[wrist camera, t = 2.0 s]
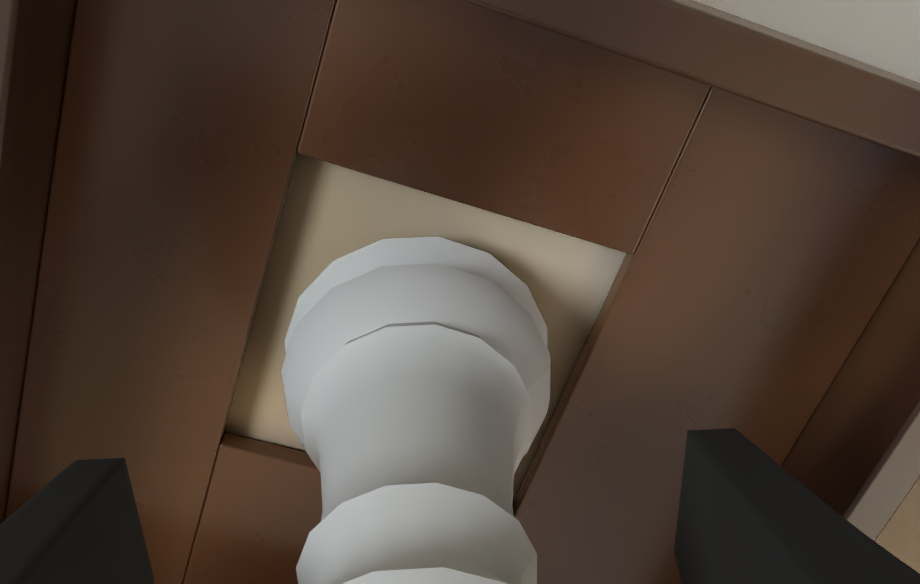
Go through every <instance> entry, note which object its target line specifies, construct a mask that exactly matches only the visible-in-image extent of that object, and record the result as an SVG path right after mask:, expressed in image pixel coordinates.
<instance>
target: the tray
mask: <svg viewBox="0 0 920 584" xmlns="http://www.w3.org/2000/svg"><path fill="white" fill-rule="evenodd" d="M297 152H298V153H299V154H302V155H306V156H309V157H312V158H316V159H319V160H322V161H325V162H329V163H332V164H335V165H339V166H342V167H345V168H349V169H352V170H355V171H358V172H362V173H365V174H368V175H372V176H375V177H378V178H382V179H385V180H388V181H392V182H395V183H398V184H401V185H405V186H408V187H411V188H415V189H418V190H421V191H425V192H428V193H431V194H434V195H438V196H441V197H444V198H448V199H451V200H454V201H458V202H461V203H464V204H468V205H471V206H474V207H477V208H481V209H484V210H487V211H491V212H494V213H497V214H501V215H504V216H507V217H511V218H514V219H517V220H520V221H524V222H527V223H530V224H534V225H537V226H540V227H544V228H547V229H550V230H553V231H557V232H560V233H563V234H567V235H570V236H573V237H577V238H580V239H583V240H587V241H590V242H593V243H596V244H600V245H603V246H606V247H610V248H613V249H616V250H620V251H623V252H626V253H627V254H626V256H625V258H624V260H623V263H622V265H621V267H620V269H619V271H618V274H617V276H616V278H615V280H614V282H613V285H612V287H611V289H610V291H609V293H608V296H607V298H606V300H605V302H604V304H603V307H602V309H601V311H600V313H599V315H598V318H597V320H596V322H595V324H594V326H593V329H592V331H591V333H590V335H589V337H588V339H587V342H586V344H585V346H584V348H583V350H582V353H581V355H580V357H579V359H578V361H577V364H576V366H575V368H574V370H573V372H572V375H571V377H570V379H569V381H568V383H567V386H566V388H565V390H564V392H563V394H562V397H561V399H560V401H559V403H558V405H557V408H556V410H555V412H554V414H553V416H552V418H551V421H550V423H549V425H548V427H547V429H546V432H545V434H544V436H543V438H542V440H541V443H540V445H539V447H538V449H537V451H536V454H535V456H534V458H533V460H532V462H531V465H530V467H529V469H528V471H527V473H526V476H525V478H524V480H523V482H522V484H521V487H520V489H519V491H518V493H517V495H516V497H515V500H514V502H513V505H512V509H513V516H514V518H516V519H517V520H519V522H520V524H521V526H522V527H523V529H524V531H525V533H526V535H527V537H528V538H529V540H530V542H531V544H532V546H533V547H534V549H535V551H536V553H537V584H682V581H681V578H680V574H679V570H678V566H677V562H676V558H675V554H674V545H675V537H676V528H677V519H678V510H679V501H680V492H681V484H682V475H683V466H684V457H685V448H686V439H687V431H688V430H707V429H727V428H735V429H736V430H737V431H739V432H740V433H741V434H742V435H744V436H745V437H746V438H747V439H749V440H750V441H751V442H752V443H754V444H755V445H756V446H757V447H758V448H760V449H761V450H762V451H763V452H764V453H766V454H767V455H768V456H769V457H770V458H772V459H773V460H774V461H775V462H776V463H777V464H779V465H780V466H781V467H782V468H783V469H785V470H786V471H787V472H788V473H789V474H791V475H792V476H793V477H794V478H795V479H797V480H798V481H799V482H800V483H802V484H803V485H804V486H805V487H806V488H808V489H809V490H810V491H811V492H812V493H814V494H815V495H816V496H817V497H819V498H820V499H821V500H822V501H823V502H825V503H826V504H827V505H828V506H830V507H831V508H832V509H833V510H835V511H836V512H837V513H838V514H840V515H841V516H842V517H844V518H845V519H846V520H847V521H849V522H850V523H851V524H852V525H854V526H855V527H856V528H858V529H859V530H860V531H862V532H863V533H864V534H865V535H867V536H868V537H869V538H871V539H872V540H873V541H875V540H876V539H877V537H878V536H879V534H880V533H881V532H882V530H883V529H884V527H885V526H886V524H887V523H888V522H889V520H890V519H891V517H892V516H893V514H894V513H895V512H896V510H897V509H898V507H899V506H900V504H901V503H902V502H903V500H904V499H905V497H906V496H907V494H908V493H909V492H910V490H911V489H912V487H913V486H914V484H915V483H916V482H917V480H918V479H919V477H920V83H917V82H915V81H912V80H909V79H906V78H904V77H901V76H898V75H896V74H893V73H890V72H887V71H885V70H882V69H879V68H876V67H874V66H871V65H868V64H865V63H863V62H860V61H857V60H854V59H852V58H849V57H846V56H844V55H841V54H838V53H835V52H833V51H830V50H827V49H824V48H822V47H819V46H816V45H813V44H811V43H808V42H805V41H802V40H800V39H797V38H794V37H792V36H789V35H786V34H783V33H781V32H778V31H775V30H772V29H770V28H767V27H764V26H761V25H759V24H756V23H753V22H750V21H748V20H745V19H742V18H740V17H737V16H734V15H731V14H729V13H726V12H723V11H720V10H718V9H715V8H712V7H709V6H707V5H704V4H701V3H699V2H696V1H693V0H0V524H1V523H2V522H4V521H5V520H6V519H7V518H8V517H9V516H11V515H12V514H13V513H14V512H15V511H16V510H17V509H19V508H20V507H21V506H22V505H23V504H24V503H26V502H27V501H28V500H29V499H30V498H31V497H32V496H34V495H35V494H36V493H37V492H38V491H39V490H41V489H42V488H43V487H44V486H45V485H46V484H48V483H49V482H50V481H51V480H52V479H53V478H55V477H56V476H57V475H58V474H59V473H61V472H62V471H63V470H64V469H66V468H67V467H68V466H69V465H71V464H72V463H73V462H75V461H76V460H88V459H109V458H125V461H126V465H127V469H128V473H129V477H130V481H131V485H132V489H133V494H134V498H135V502H136V506H137V510H138V514H139V518H140V522H141V527H142V531H143V535H144V539H145V543H146V547H147V551H148V555H149V560H150V564H151V568H152V572H153V576H154V582H153V584H298V578H297V572H296V566H297V564H298V561H299V558H300V556H301V553H302V551H303V548H304V545H305V543H306V540H307V537H308V535H309V532H310V531H312V530H313V529H314V528H315V527H316V526H317V525H318V524H319V523H320V522H321V517H322V510H323V509H322V490H321V473H320V471H319V470H318V468H317V467H316V465H315V464H314V463H313V461H312V460H311V458H310V457H309V455H308V454H307V452H303V451H299V450H295V449H290V448H286V447H282V446H278V445H274V444H270V443H265V442H261V441H257V440H253V439H249V438H245V437H240V436H236V435H232V434H228V433H224V429H225V425H226V421H227V418H228V414H229V410H230V406H231V402H232V399H233V395H234V391H235V387H236V383H237V380H238V376H239V372H240V368H241V364H242V361H243V357H244V353H245V349H246V345H247V342H248V338H249V334H250V330H251V326H252V323H253V319H254V315H255V311H256V307H257V304H258V300H259V296H260V292H261V288H262V285H263V281H264V277H265V273H266V269H267V266H268V262H269V258H270V254H271V250H272V247H273V243H274V239H275V235H276V231H277V228H278V224H279V220H280V216H281V212H282V209H283V205H284V201H285V197H286V193H287V190H288V186H289V182H290V178H291V174H292V171H293V167H294V163H295V159H296V155H297ZM223 433H224V435H223Z"/></svg>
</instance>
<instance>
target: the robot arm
mask: <svg viewBox="0 0 920 584" xmlns="http://www.w3.org/2000/svg"><path fill="white" fill-rule="evenodd" d="M674 554H675V558H676V562H677V566H678V570H679V574H680V578H681V581H682V584H920V574H919V573H918V572H916V571H915V570H913V569H912V568H911V567H909V566H908V565H906V564H905V563H903V562H902V561H901V560H899V559H898V558H896V557H895V556H894V555H892V554H891V553H889V552H888V551H887V550H885V549H884V548H883V547H881V546H880V545H879V544H877V543H876V542H875V541H873V540H872V539H871V538H869V537H868V536H867V535H865V534H864V533H863V532H862V531H860V530H859V529H858V528H856V527H855V526H854V525H852V524H851V523H850V522H849V521H847V520H846V519H845V518H844V517H842V516H841V515H840V514H838V513H837V512H836V511H835V510H833V509H832V508H831V507H830V506H828V505H827V504H826V503H825V502H823V501H822V500H821V499H820V498H819V497H817V496H816V495H815V494H814V493H812V492H811V491H810V490H809V489H808V488H806V487H805V486H804V485H803V484H802V483H800V482H799V481H798V480H797V479H795V478H794V477H793V476H792V475H791V474H789V473H788V472H787V471H786V470H785V469H783V468H782V467H781V466H780V465H779V464H777V463H776V462H775V461H774V460H773V459H772V458H770V457H769V456H768V455H767V454H766V453H764V452H763V451H762V450H761V449H760V448H758V447H757V446H756V445H755V444H754V443H752V442H751V441H750V440H749V439H747V438H746V437H745V436H744V435H742V434H741V433H740V432H739V431H737V430H736V429H735V428H727V429H707V430H688V431H687V439H686V448H685V457H684V466H683V475H682V484H681V492H680V501H679V510H678V519H677V528H676V537H675V545H674ZM153 582H154V576H153V572H152V568H151V564H150V560H149V555H148V551H147V547H146V543H145V539H144V535H143V531H142V527H141V522H140V518H139V514H138V510H137V506H136V502H135V498H134V494H133V489H132V485H131V481H130V477H129V473H128V469H127V465H126V461H125V458H109V459H88V460H76V461H75V462H73V463H72V464H71V465H69V466H68V467H67V468H66V469H64V470H63V471H62V472H61V473H59V474H58V475H57V476H56V477H55V478H53V479H52V480H51V481H50V482H49V483H48V484H46V485H45V486H44V487H43V488H42V489H41V490H39V491H38V492H37V493H36V494H35V495H34V496H32V497H31V498H30V499H29V500H28V501H27V502H26V503H24V504H23V505H22V506H21V507H20V508H19V509H17V510H16V511H15V512H14V513H13V514H12V515H11V516H9V517H8V518H7V519H6V520H5V521H4V522H2V523H1V524H0V584H153Z"/></svg>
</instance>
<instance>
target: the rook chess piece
mask: <svg viewBox="0 0 920 584" xmlns="http://www.w3.org/2000/svg"><path fill="white" fill-rule="evenodd" d="M284 343H285V350H286V357H285V360H284V363H283V366H282V369H281V373H282V379H283V386H284V393H285V400H286V407H287V413H288V418H289V422H290V426H291V428H292V430H293V431H294V433H295V434H296V436H297V437H298V439H299V440H300V442H301V443H302V445H303V446H304V448H305V449H306V452H307V454H308V455H309V457H310V458H311V460H312V461H313V463H314V464H315V465H316V467H317V468H318V470H319V471H320V473H321V490H322V509H323V510H322V517H321V522H320V523H319V524H318V525H317V526H316V527H315V528H314V529H313V530H312V531H310V532H309V535H308V537H307V540H306V543H305V545H304V548H303V551H302V553H301V556H300V558H299V561H298V564H297V566H296V572H297V578H298V584H537V553H536V551H535V549H534V547H533V546H532V544H531V542H530V540H529V538H528V537H527V535H526V533H525V531H524V529H523V527H522V526H521V524H520V522H519V520H517V519H516V518H514V516H513V509H512V505H513V485H514V473H515V472H516V470H517V468H518V466H519V464H520V462H521V460H522V458H523V456H524V455H525V454H526V453H527V452H528V450H529V448H530V446H531V444H532V442H533V440H534V438H535V436H536V434H537V432H538V430H539V428H540V426H541V424H542V422H543V420H544V418H545V416H546V414H547V410H548V406H549V402H550V363H551V356H550V354H549V351H548V349H547V326H546V324H545V322H544V320H543V318H542V315H541V313H540V311H539V309H538V307H537V305H536V303H535V301H534V298H533V296H532V294H531V292H530V290H529V288H528V286H527V285H526V284H525V283H524V282H522V281H521V280H520V279H519V278H518V277H517V276H515V275H514V274H513V273H512V272H511V271H510V270H508V269H507V268H506V267H505V266H504V265H503V264H501V263H500V262H499V261H498V260H497V259H495V258H494V257H493V256H492V255H491V254H490V253H487V252H484V251H481V250H478V249H475V248H472V247H469V246H466V245H463V244H460V243H457V242H454V241H451V240H448V239H445V238H442V237H439V236H433V237H412V238H391V239H381V240H379V241H377V242H374V243H372V244H370V245H368V246H365V247H363V248H361V249H359V250H356V251H354V252H352V253H350V254H347V255H345V256H343V257H341V258H338V259H336V260H334V261H333V262H332V263H331V264H330V265H329V266H328V267H327V268H326V269H325V270H324V271H323V272H322V273H321V274H320V275H319V276H318V277H317V278H316V280H315V281H314V282H313V283H312V284H311V285H310V286H309V287H308V288H307V289H306V290H305V291H304V292H303V293H302V294H301V295H300V297H299V298H298V301H297V304H296V307H295V310H294V313H293V316H292V319H291V323H290V326H289V329H288V332H287V335H286V338H285V341H284Z"/></svg>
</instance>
